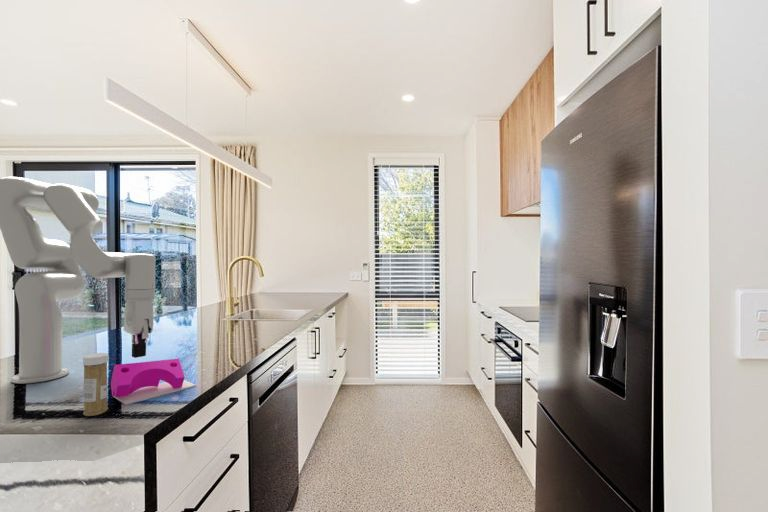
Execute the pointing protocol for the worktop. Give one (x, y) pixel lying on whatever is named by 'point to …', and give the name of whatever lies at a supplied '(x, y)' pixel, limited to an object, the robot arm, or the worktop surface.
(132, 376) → the toy block
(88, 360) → the sprinkles bottle
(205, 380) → the worktop surface
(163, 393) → the mat
